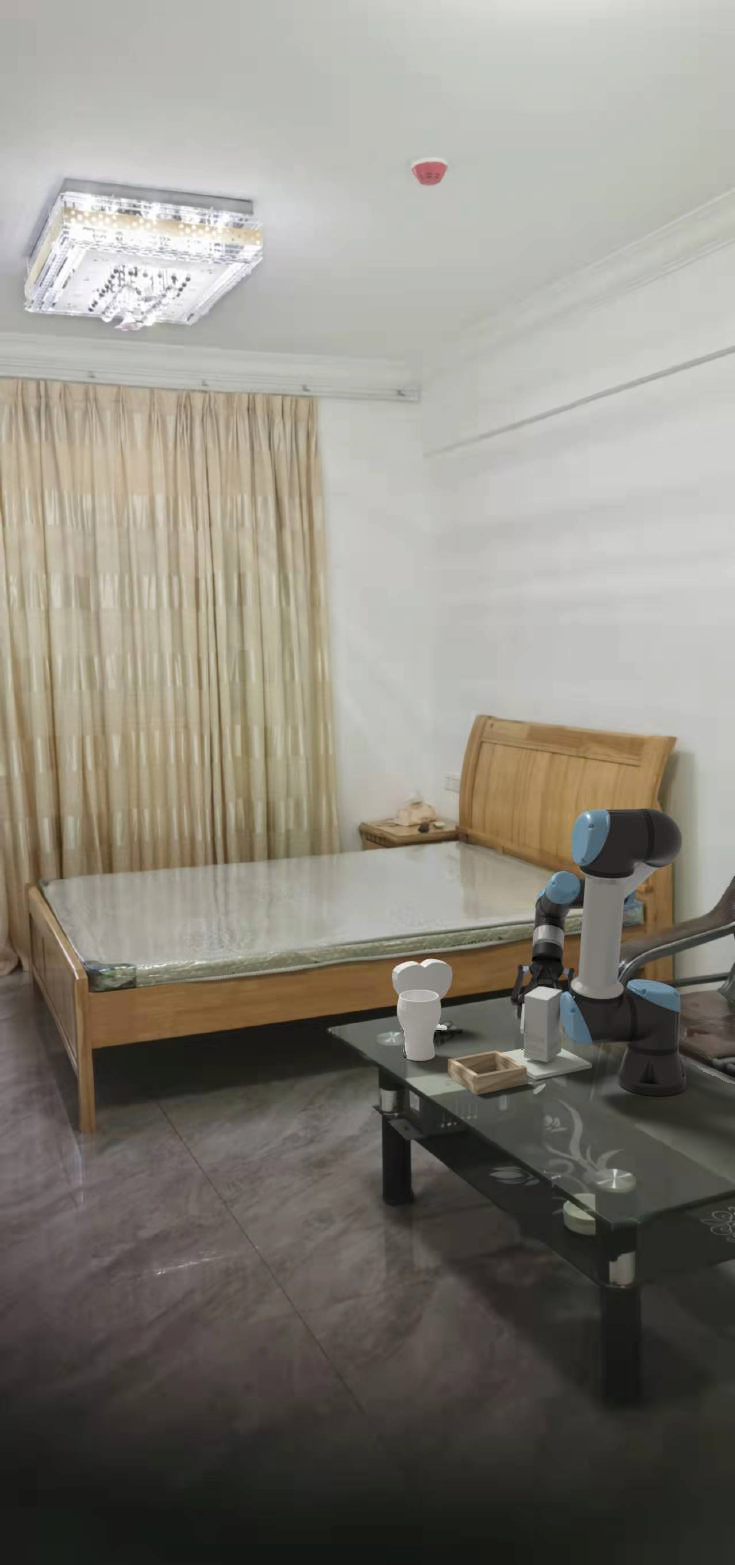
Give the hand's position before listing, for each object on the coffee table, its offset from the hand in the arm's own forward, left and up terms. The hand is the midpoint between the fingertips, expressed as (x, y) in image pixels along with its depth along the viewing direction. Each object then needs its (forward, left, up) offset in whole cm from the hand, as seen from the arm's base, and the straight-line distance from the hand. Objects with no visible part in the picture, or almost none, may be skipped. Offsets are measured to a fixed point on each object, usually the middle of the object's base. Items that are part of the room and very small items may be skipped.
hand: (541, 1032), depth 275 cm
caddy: (0, +15, -9) cm, 18 cm away
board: (+3, -3, -9) cm, 9 cm away
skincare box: (+2, -2, -7) cm, 8 cm away
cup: (+21, +21, -9) cm, 31 cm away
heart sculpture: (+37, +11, -9) cm, 39 cm away
